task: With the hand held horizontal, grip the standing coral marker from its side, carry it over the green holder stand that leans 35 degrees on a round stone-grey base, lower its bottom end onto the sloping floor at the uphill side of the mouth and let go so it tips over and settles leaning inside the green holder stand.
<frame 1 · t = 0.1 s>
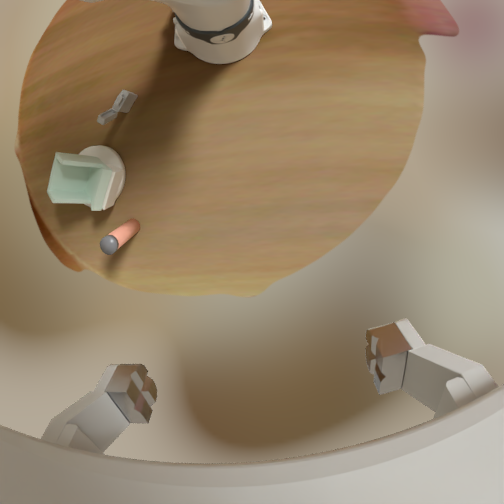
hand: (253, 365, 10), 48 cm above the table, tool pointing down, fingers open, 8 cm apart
lighter: (126, 109, 49), on the table
green holder stand: (102, 177, 54), on the table
marker: (133, 226, 58), on the table
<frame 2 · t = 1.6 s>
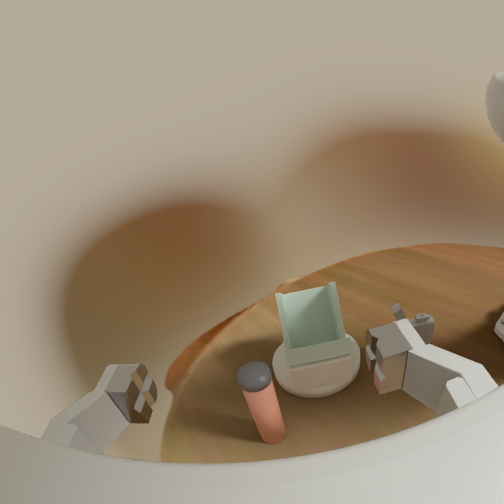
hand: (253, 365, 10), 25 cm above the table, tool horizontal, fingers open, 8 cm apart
lighter: (409, 345, 39), on the table
green holder stand: (318, 368, 40), on the table
marker: (273, 433, 31), on the table
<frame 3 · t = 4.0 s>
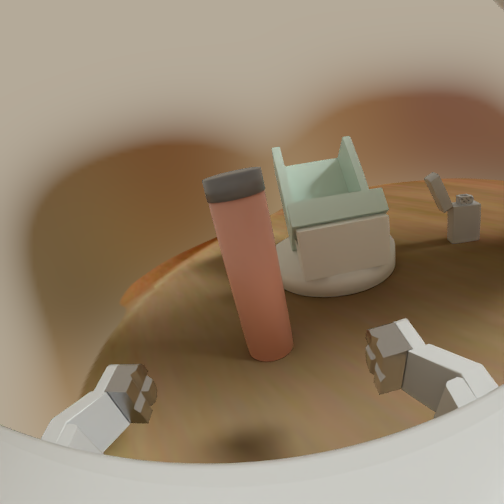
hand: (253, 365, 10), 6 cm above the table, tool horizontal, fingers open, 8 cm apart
lighter: (453, 242, 28), on the table
green holder stand: (335, 266, 29), on the table
marker: (271, 346, 20), on the table
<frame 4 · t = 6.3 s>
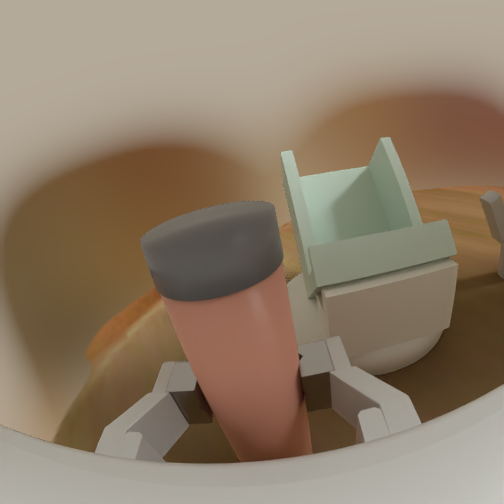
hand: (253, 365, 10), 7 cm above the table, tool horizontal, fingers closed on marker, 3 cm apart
green holder stand: (366, 320, 20), on the table
marker: (280, 465, 11), on the table, touching gripper
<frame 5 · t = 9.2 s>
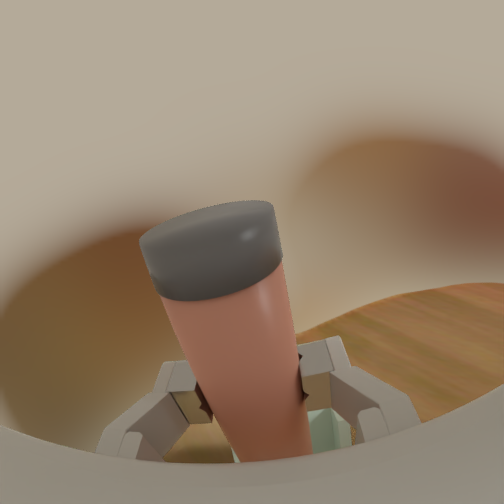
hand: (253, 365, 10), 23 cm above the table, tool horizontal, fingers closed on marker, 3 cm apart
marker: (280, 465, 11), point 16 cm above the table, touching gripper
when the fingers open (13 cm above the table, at t = 11.9 s): marker drops 1 cm and tips over, resting on green holder stand.
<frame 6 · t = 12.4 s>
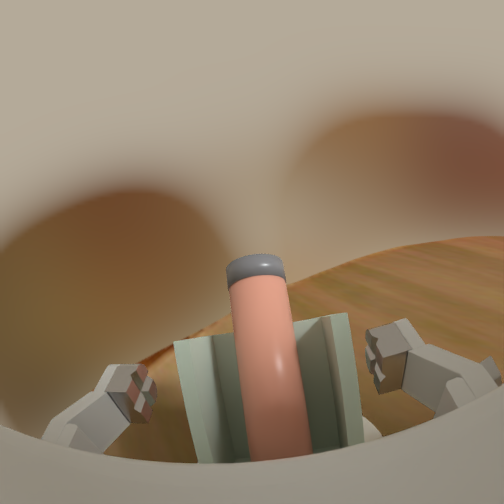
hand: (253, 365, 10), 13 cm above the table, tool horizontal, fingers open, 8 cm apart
lighter: (483, 428, 13), on the table
green holder stand: (294, 490, 15), on the table
marker: (284, 475, 12), point 5 cm above the table, tilted 48°, touching green holder stand
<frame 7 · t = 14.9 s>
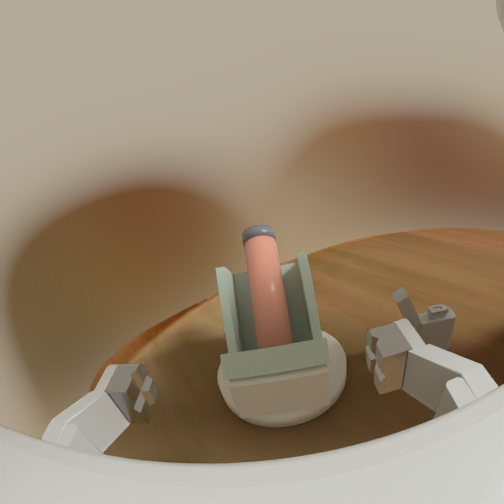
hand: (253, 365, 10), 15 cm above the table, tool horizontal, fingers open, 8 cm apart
lighter: (419, 351, 27), on the table
green holder stand: (284, 382, 28), on the table
marker: (276, 350, 25), point 5 cm above the table, tilted 48°, touching green holder stand
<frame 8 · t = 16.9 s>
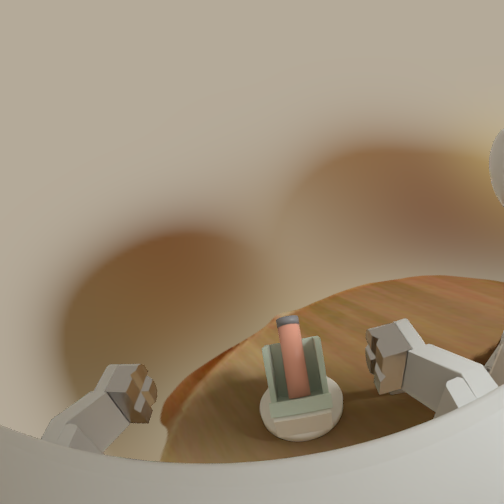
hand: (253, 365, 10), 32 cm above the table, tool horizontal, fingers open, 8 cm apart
green holder stand: (302, 412, 41), on the table
marker: (299, 396, 38), point 5 cm above the table, tilted 48°, touching green holder stand
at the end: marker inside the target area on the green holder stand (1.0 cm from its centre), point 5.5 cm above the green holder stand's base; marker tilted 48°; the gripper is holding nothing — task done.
